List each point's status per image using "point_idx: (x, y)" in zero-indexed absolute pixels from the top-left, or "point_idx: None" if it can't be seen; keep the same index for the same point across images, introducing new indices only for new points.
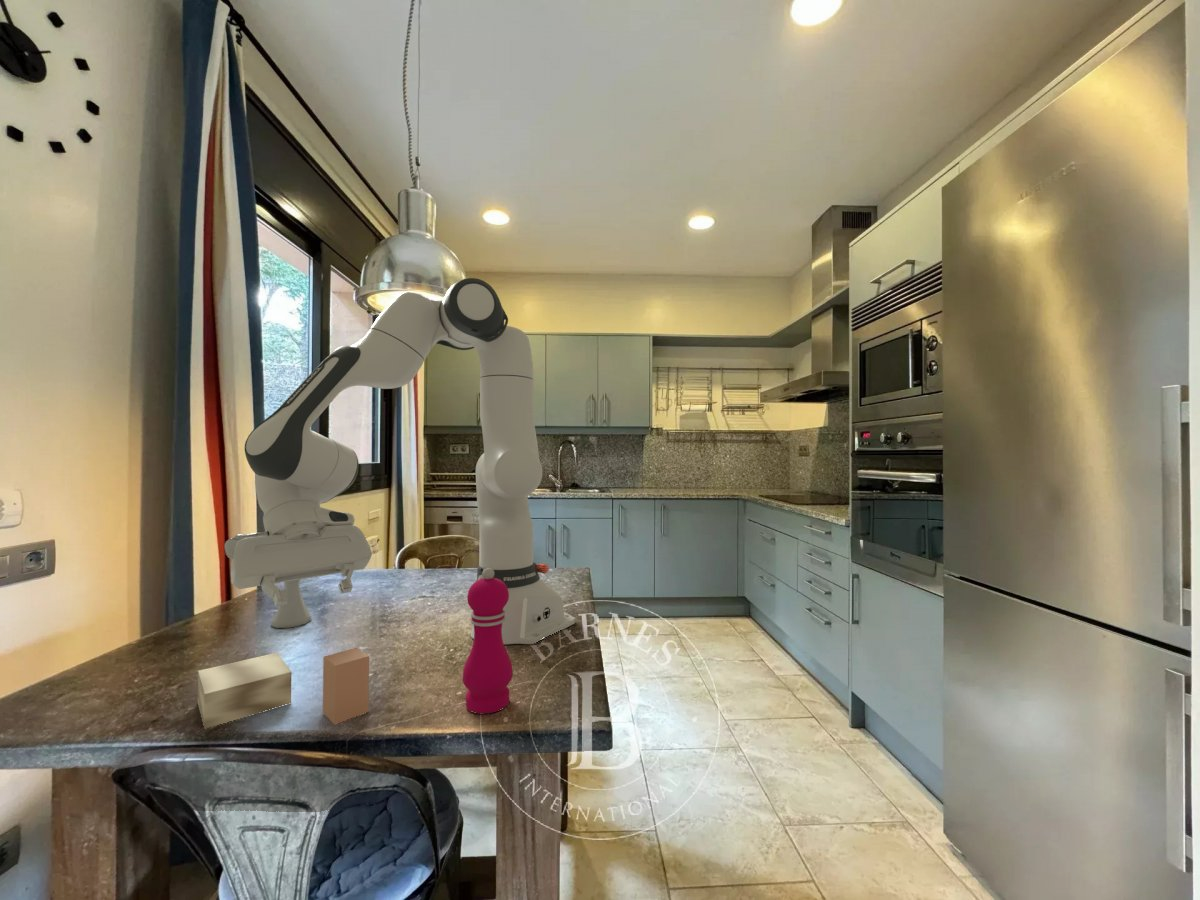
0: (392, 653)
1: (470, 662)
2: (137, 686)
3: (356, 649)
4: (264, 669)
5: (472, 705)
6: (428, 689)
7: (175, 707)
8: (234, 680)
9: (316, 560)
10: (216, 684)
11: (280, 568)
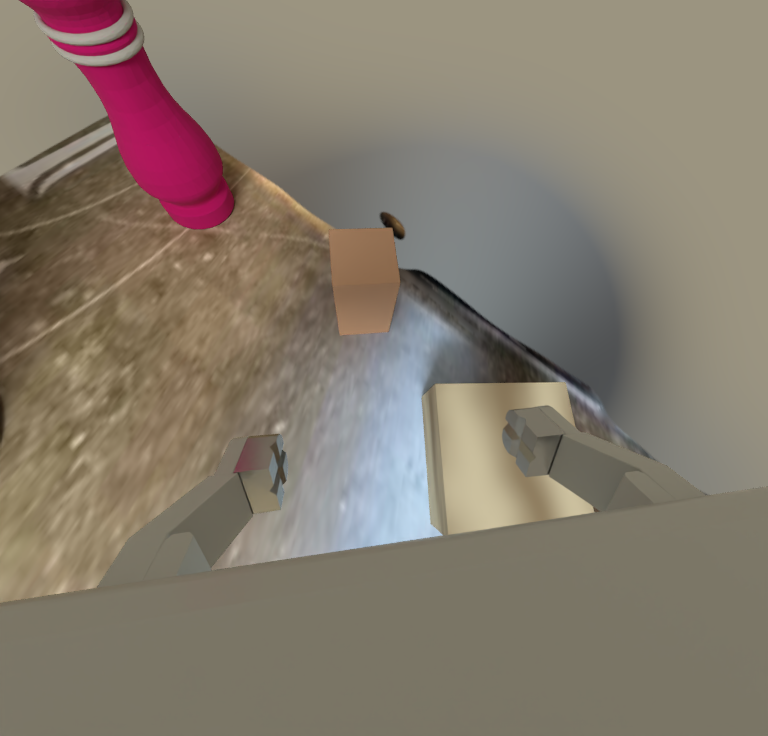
0: None
1: (197, 132)
2: None
3: (335, 276)
4: (478, 435)
5: (229, 190)
6: (235, 297)
7: None
8: None
9: (410, 589)
10: None
11: (668, 516)
